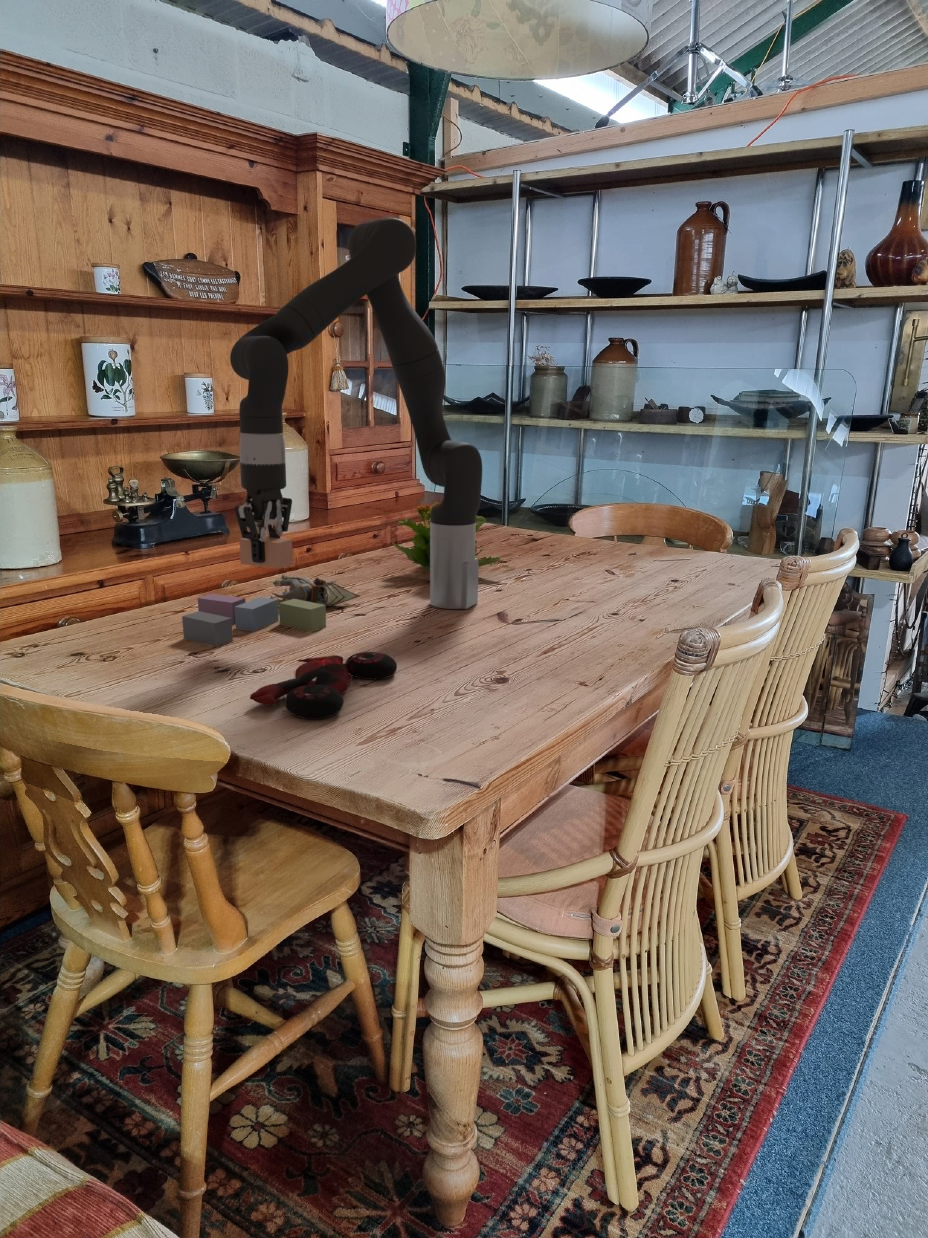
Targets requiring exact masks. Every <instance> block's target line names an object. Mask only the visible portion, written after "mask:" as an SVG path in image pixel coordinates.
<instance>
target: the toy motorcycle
mask: <svg viewBox="0 0 928 1238" xmlns="http://www.w3.org/2000/svg"><path fill="white" fill-rule="evenodd" d="M296 661H297V662H300V663H302V664H300V665H299V666H298V667H297V668H296V669H295V673H294V674H295V675H294V677H295V678H290V679H288V680H284V681H280V682H276V683H269V684H267V685H264V686H262V687H260V688H258V689H257V690H256V691H253V692H252V693H251V694H250V696H249V699H250V700H253V701H254V702H255V703H258V704H261V705H265V706H275V705H276V703H277V701H278V700H279V699H280V698H282V697H284V696H286V697H285V701H284V702H285V703H284V705H285V708H286V710H287V711H288V712H289V713H290V714H291V715H293V716H295V717H298V718H302V719H310V720H317V719H318V720H319V719H325V718H329V717H332V716H334V715H336V714H337V713H339V712H340V711H341V709H342V707H344V702H345V700H344V697H343V695H344V694H345V692H346V691H347V690H348V689H349V687H350V684H349V682H350V681H351V680H352V678H353V677H354V678H358V679H361V680H362V679H363V680H381V679H387V678H389V677H391V676H393V675H395V673H396V672H397V668H398V665H397V662H396V660H395V659H394V658H393V657H392V656H391V655H388V654H386V653H382V652H377V651H375V652H373V651H362V652H356V653H354V654H352V655H350V656H349V657H347V658H346V661H345V662H344V658H343V656H341V655H336V654H332V655H325V656H319V657H317V656H316V657H306V658H304V659H298V660H296Z"/></svg>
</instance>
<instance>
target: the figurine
mask: <svg viewBox="0 0 928 1238" xmlns="http://www.w3.org/2000/svg"><path fill="white" fill-rule="evenodd" d="M337 581H339V578H336V579H333V580H330V581H326V580H324V579H320V578H319V577H316V578H315V579H314V580H309V579H308V578H306V577H300V576H299V577H298V576H291V575H284V574H281V576H280V578H279V579H276V580H274V581H273V582H272V585H274V587H276V588H278V587H289V589H288V590H287V588H285V589H284V592H282V593H281V594H277V593H275V592H274V593H273V592H272V593H271V594H272V595H273V596H275V597H277V598H276V599H278V607H279V603H280V602H284V601H285V600H291V599H298V600H303V601H308V602H313V603H317V604H322V605H326V607H332V606H337V605H339V604H342V603H346V602H349V601H351V600H354V599H357V598H360V597H361V595H360V594H357V593H355V592H352V591H350V590H347V589H345V588H344V587H343V586H341V585H339V584H336V582H337ZM272 595H271V596H270V598H271V599H274V597H273V596H272ZM280 599H283V600H280ZM284 599H285V600H284Z"/></svg>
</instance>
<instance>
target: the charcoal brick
mask: <svg viewBox="0 0 928 1238" xmlns="http://www.w3.org/2000/svg"><path fill="white" fill-rule="evenodd" d="M181 619H182V621H181V622H182V628H183V629H182V632H183V634H182V635H183V640H185V641H191V642H195V643H199V644H203V645H207V646H212V647H219V646H222V645H225V644H228V643H231V642H233V641H234V639H233V624H232V618H229V617H224V616H219V615H215V614H210V613H206V612H201V611H195V612H192V613H188V614H185V615H182V617H181Z"/></svg>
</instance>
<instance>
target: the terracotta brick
mask: <svg viewBox="0 0 928 1238" xmlns="http://www.w3.org/2000/svg"><path fill="white" fill-rule="evenodd" d="M264 541H265V562H264V563H255V562H253V560H252V553H251V541H250V540H249V539H246V538H239V556H240V558H239V559H240V560H239V561H240V565H246V566H247V565H248V566H255V567H263V568H272V569H279V570H280V569H282V568H286V567H288V566H292V565H294V563H293V562H294V560H293V538H292V539H289V538H282V537H280V538H272V537H269V536H265V537H264Z"/></svg>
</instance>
